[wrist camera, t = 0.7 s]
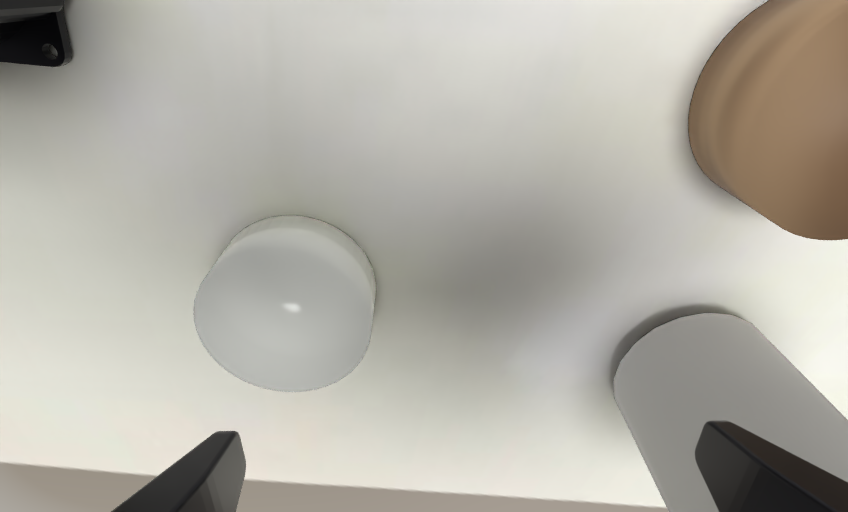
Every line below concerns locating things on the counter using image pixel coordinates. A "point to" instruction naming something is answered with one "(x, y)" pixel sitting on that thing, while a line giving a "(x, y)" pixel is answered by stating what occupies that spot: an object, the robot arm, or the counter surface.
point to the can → (719, 401)
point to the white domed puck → (288, 305)
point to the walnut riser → (780, 115)
